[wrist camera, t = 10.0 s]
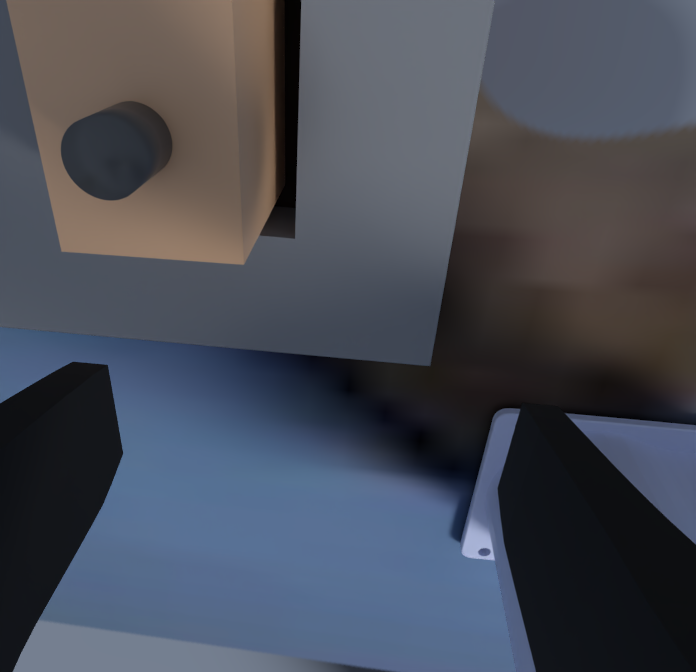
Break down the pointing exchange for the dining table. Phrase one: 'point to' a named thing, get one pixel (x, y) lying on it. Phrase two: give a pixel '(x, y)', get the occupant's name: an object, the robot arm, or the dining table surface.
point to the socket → (284, 222)
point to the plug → (157, 121)
